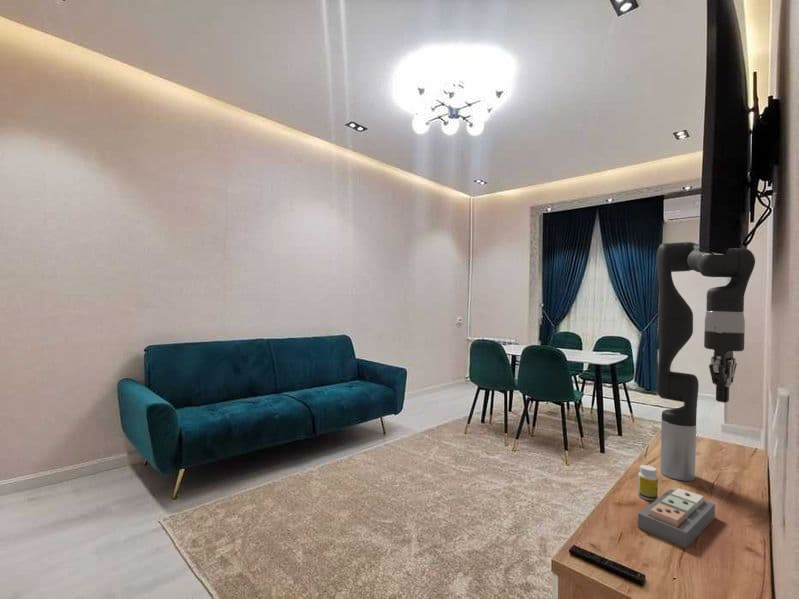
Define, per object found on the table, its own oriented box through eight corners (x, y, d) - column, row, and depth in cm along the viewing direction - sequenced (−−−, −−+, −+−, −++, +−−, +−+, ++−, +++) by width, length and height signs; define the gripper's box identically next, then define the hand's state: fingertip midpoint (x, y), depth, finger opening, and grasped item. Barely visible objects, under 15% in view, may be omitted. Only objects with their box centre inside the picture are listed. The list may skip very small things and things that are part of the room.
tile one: (678, 498, 108) (678, 486, 108) (703, 507, 104) (703, 495, 104) (670, 504, 105) (671, 492, 105) (696, 514, 100) (696, 501, 100)
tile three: (658, 514, 99) (659, 501, 99) (685, 525, 95) (685, 511, 95) (650, 522, 96) (650, 508, 96) (676, 533, 92) (677, 519, 92)
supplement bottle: (660, 502, 110) (661, 472, 110) (641, 500, 111) (642, 470, 111) (652, 494, 115) (653, 465, 115) (635, 492, 116) (635, 463, 116)
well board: (670, 501, 111) (670, 488, 111) (714, 517, 103) (715, 504, 103) (637, 527, 97) (638, 513, 97) (686, 548, 89) (686, 532, 89)
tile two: (669, 506, 104) (669, 493, 104) (694, 515, 99) (694, 502, 99) (660, 512, 100) (661, 499, 100) (687, 523, 96) (687, 509, 96)
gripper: (713, 328, 103) (711, 395, 103) (696, 329, 95) (694, 401, 95) (751, 330, 97) (749, 401, 97) (736, 332, 89) (734, 409, 89)
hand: (722, 401), depth 96 cm, fingers closed
